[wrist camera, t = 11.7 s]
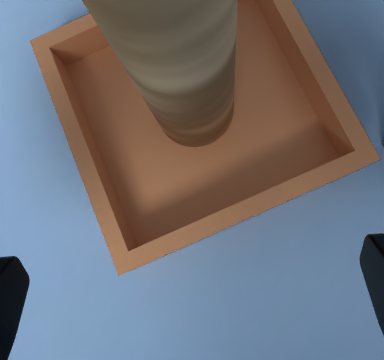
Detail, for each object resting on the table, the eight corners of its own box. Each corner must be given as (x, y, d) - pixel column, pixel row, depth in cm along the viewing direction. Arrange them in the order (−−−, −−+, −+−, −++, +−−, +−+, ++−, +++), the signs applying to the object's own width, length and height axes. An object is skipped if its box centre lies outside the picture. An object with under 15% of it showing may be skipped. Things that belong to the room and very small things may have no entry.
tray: (358, 169, 17) (381, 159, 15) (133, 269, 17) (118, 275, 15) (251, -26, 19) (256, -64, 17) (53, 64, 20) (29, 40, 17)
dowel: (248, 100, 18) (321, -385, 4) (203, 161, 17) (108, -123, 4) (187, 61, 18) (62, -465, 5) (142, 120, 18) (-132, -253, 4)
